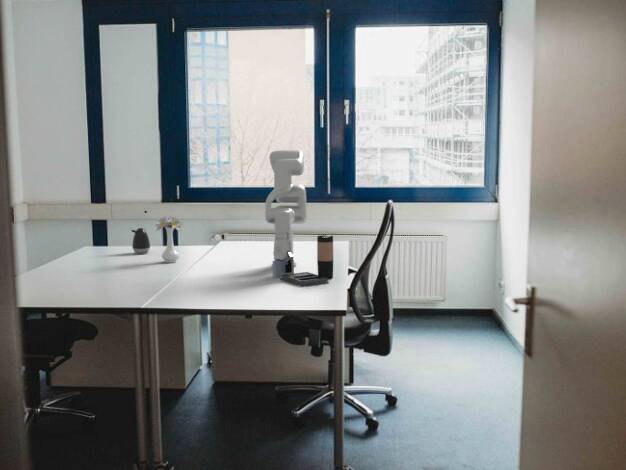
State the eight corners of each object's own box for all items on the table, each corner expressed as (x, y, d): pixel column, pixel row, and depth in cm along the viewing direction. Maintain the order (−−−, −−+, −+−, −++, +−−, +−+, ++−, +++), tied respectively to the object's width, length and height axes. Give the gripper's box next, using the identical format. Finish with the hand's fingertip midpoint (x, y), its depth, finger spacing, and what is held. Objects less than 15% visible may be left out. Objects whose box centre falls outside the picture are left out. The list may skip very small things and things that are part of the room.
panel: (272, 277, 330) (272, 260, 329) (290, 275, 335) (290, 258, 334) (275, 278, 327) (275, 261, 326) (293, 276, 332) (293, 259, 331)
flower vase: (185, 258, 384) (184, 214, 381) (178, 264, 366) (176, 218, 363) (162, 258, 385) (161, 214, 382) (154, 264, 367) (152, 218, 363)
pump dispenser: (130, 252, 407) (129, 227, 405) (148, 251, 411) (147, 226, 409) (134, 255, 398) (132, 229, 396) (152, 254, 402) (151, 228, 400)
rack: (280, 279, 323) (280, 274, 323) (305, 276, 331) (305, 270, 330) (302, 286, 307) (302, 281, 306) (328, 283, 314) (328, 277, 314)
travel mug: (320, 279, 322) (319, 237, 320) (315, 276, 330) (315, 235, 327) (335, 278, 324) (335, 236, 322) (330, 275, 332) (330, 234, 329)
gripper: (267, 234, 334) (267, 269, 336) (285, 238, 319) (285, 274, 321) (280, 233, 338) (281, 267, 340) (298, 237, 323) (299, 272, 325)
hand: (283, 270), depth 331 cm, fingers open, 9 cm apart
